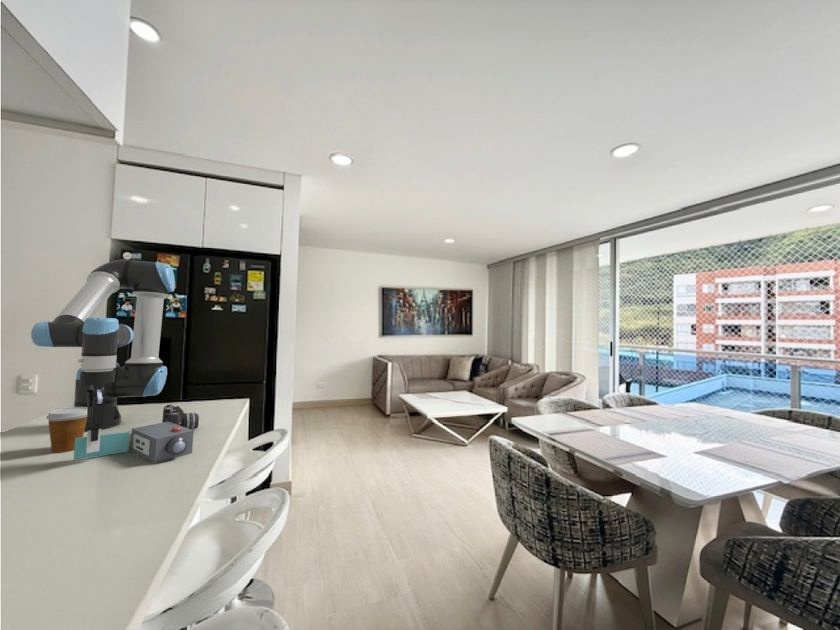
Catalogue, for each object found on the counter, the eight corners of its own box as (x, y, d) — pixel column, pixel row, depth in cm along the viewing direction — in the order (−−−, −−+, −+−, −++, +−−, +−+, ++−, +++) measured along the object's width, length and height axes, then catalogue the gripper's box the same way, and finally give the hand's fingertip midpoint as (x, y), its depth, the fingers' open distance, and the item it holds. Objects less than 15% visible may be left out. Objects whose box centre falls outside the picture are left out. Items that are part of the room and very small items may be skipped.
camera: (202, 435, 122) (203, 408, 122) (164, 442, 114) (166, 412, 115) (193, 426, 132) (194, 400, 132) (158, 431, 124) (160, 404, 125)
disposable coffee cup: (54, 456, 99) (58, 415, 99) (36, 451, 102) (39, 411, 102) (94, 446, 108) (97, 408, 108) (76, 441, 111) (79, 405, 111)
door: (131, 449, 106) (132, 430, 106) (130, 451, 104) (132, 431, 104) (74, 457, 98) (76, 436, 98) (73, 459, 96) (75, 438, 97)
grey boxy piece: (129, 451, 105) (131, 426, 105) (166, 442, 114) (168, 419, 114) (158, 465, 96) (159, 438, 96) (196, 454, 105) (197, 429, 105)
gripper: (77, 368, 100) (71, 449, 99) (83, 373, 92) (77, 461, 91) (111, 366, 105) (106, 443, 105) (119, 371, 97) (114, 453, 96)
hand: (92, 451), depth 98 cm, fingers closed
